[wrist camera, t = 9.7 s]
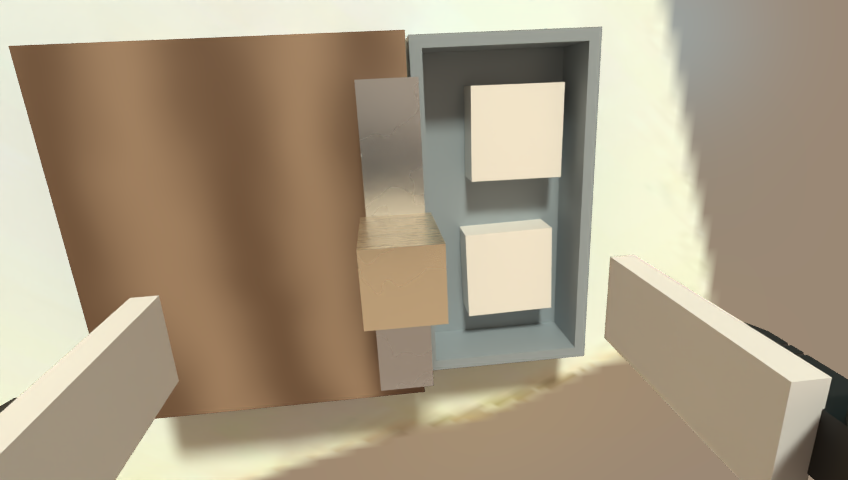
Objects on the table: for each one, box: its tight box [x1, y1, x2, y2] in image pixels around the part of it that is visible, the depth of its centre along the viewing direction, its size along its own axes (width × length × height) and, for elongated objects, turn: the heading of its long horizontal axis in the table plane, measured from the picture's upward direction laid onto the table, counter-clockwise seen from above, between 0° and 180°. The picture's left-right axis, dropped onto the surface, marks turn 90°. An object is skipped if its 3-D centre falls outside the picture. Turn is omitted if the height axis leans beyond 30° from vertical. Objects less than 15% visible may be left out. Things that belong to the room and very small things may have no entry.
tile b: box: [464, 82, 565, 182], centre depth 27 cm, size 5×5×2 cm
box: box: [405, 27, 602, 370], centre depth 28 cm, size 9×18×4 cm, turn 3°
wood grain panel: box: [9, 30, 425, 419], centre depth 26 cm, size 16×18×6 cm
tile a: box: [460, 219, 552, 316], centre depth 29 cm, size 5×5×2 cm
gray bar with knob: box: [354, 77, 449, 391], centre depth 20 cm, size 3×14×7 cm, turn 3°
